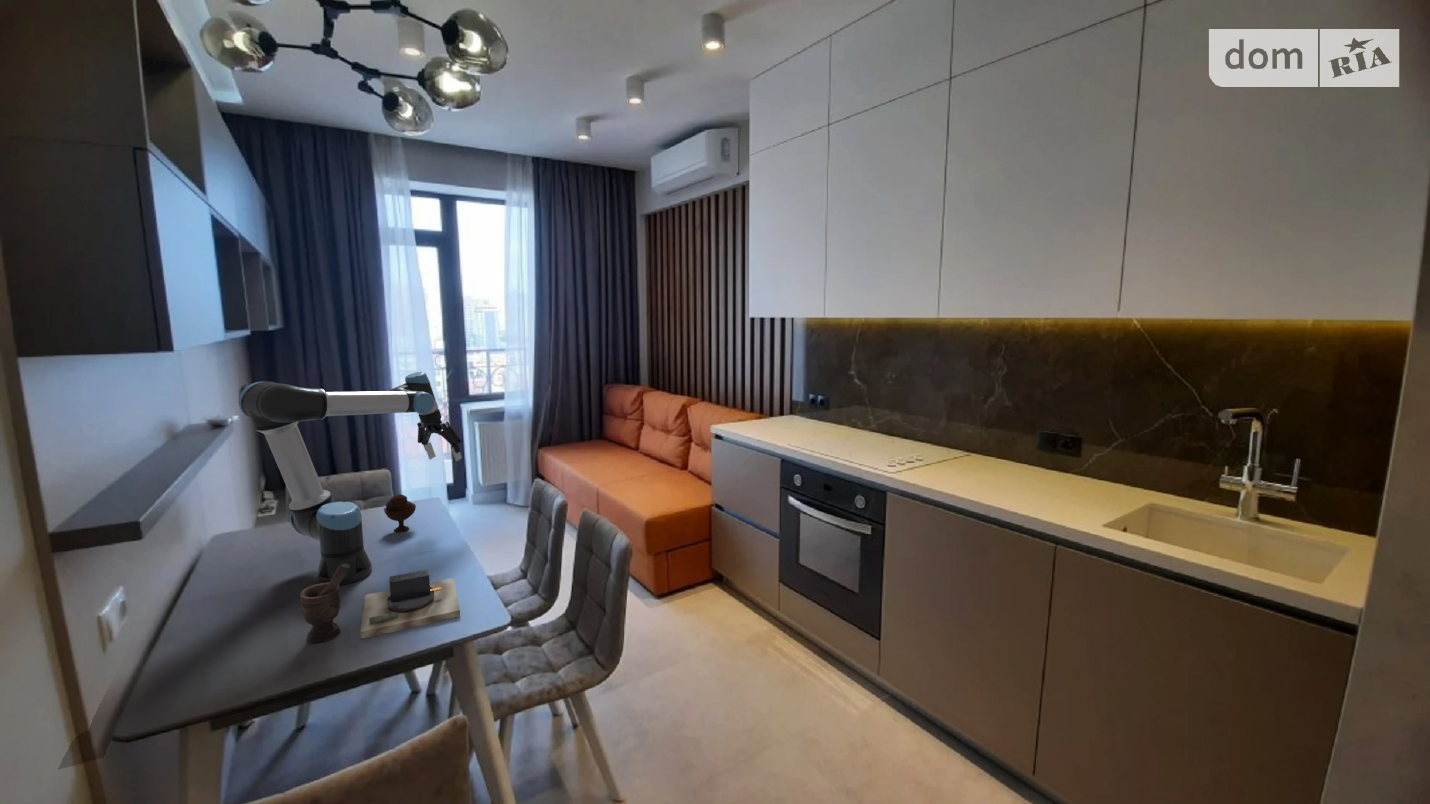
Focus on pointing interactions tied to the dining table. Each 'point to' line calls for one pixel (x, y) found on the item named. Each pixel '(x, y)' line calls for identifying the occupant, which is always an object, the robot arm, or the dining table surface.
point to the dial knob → (410, 592)
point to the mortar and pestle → (323, 606)
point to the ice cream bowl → (399, 511)
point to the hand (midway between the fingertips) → (445, 458)
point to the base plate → (386, 621)
